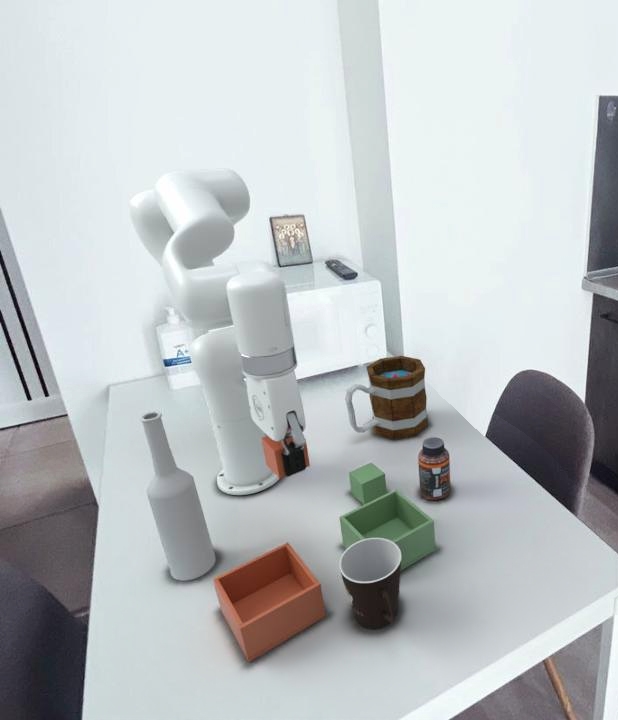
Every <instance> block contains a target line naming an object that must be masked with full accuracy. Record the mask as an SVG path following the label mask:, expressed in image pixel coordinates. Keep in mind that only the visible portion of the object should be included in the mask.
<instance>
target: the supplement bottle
mask: <svg viewBox="0 0 618 720" xmlns="http://www.w3.org/2000/svg"><path fill="white" fill-rule="evenodd" d="M417 459H418V460H417V463H418V478H419V479H418V481H419V482H418V483H419V491H420V495H421V496H422V497H423V498H424V499H427V500H430V501H439V500H442V499H445V498H446V497H448V495H449V494H450V492H451V463H450V462H451V460H450V459H451V457H450V452H449V450H448V449H447V448H446V447H445V441H444V440H443V439H442V438H440V437H438V436H431V437H428V438H425V439H424V440H423V441H422V448H421V450H419V452H418V454H417Z"/></svg>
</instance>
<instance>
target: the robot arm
mask: <svg viewBox="0 0 618 720" xmlns="http://www.w3.org/2000/svg"><path fill="white" fill-rule="evenodd" d="M250 208H251V196H250V191H249V190H248V186H247V184H246V182H245V181H244V179H243V178H242V177H241V176H240V175H239V174H238V173H237V172H236V171H234V170H232V169H231V168H225V167H224V168H223V167H219V168H202V169H201V168H200V169H199V168H198V169H183V170H175V171H169V172H167V173H165V174H163V175H162V176H161V177H159V178H158V180H157V181H156V183H155V185H154V188H153V189H152V188H151V189H148V190H144V191H141V192H139V193H137V194H135V195H134V196H133V197H132V198H131V199H130V201H129V205H128V209H129V216H130V220H131V223H132V225H133V228H134V230H135V232H136V234H137V236H138V238H139V240H140V242H141V243H142V245H143V246H144V247H145V249H146V250H147V251H148V253H149V254H150V255H151V256H152V257H153V259H154V260H155V261H156V262H157V263H158V265H159V266H160V267H161V269H162V272H163V277H164V280H165V282H166V285H167V287H168V290H169V292H170V293H171V295H172V298H173V299H174V301H175V303H176V305H177V307H178V309H179V310H180V313H181V316H182V317H183V319H184V321H185V322H186V324H187V326H189V328H191V329H193V330H194V331H199V332H204V331H209V332H207V333H204V334H202V335H200V336H198V337H197V338H195V339H194V340H193V342H192V343H191V344H190V346H189V357H190V361H191V364H192V367H193V370H194V372H195V374H196V376H197V379H198V381H199V383H200V386H201V388H202V391H203V394H204V397H205V401H206V405H207V409H208V413H209V417H210V421H211V425H212V429H213V434H214V438H215V441H216V446H217V451H218V454H219V459H220V464H221V467H222V469H221V470H220V471H219V473H218V474H217V477H216V483H217V487H218V489H219V490H220V491H221V492H222V493H225V494H228V495H231V496H247V495H252V494H256V493H259V492H261V491H264V490H266V489H268V488H270V487H272V486H274V485H275V484H276V483H278V481H279V480H280V479H279V478H278V477H277V476H276V474H275V473H274V472H273V471H272V470H271V469H270V468H269V467H268V466H267V465H266V460H265V455H264V450H263V445H262V440H261V438H263V437H266V436H269V437H270V438H271V439H272V440H274V441H280V442H281V445H282V449H283V452H284V453H282V454H281V455H282V460H283V466H284V471H285V475H286V476H285V477H291V476H293V475H296V474H298V473H301V472H303V471H305V470H306V469H307V467H306V463H305V457H304V451H303V449H304V446H303V445H304V444H305V443H306V444H307V439H306V438H305V435H304V431H306V416H305V411H304V410H305V409H304V404H303V400H302V395H301V391H300V387H299V383H298V379H297V375H296V372H295V370H296V369H297V367H298V365H299V363H298V358H297V353H296V345H295V339H294V332H293V326H292V319H291V314H290V306H289V300H288V295H287V288H286V283H285V281H284V279H283V277H282V276H281V275H280V274H279V273H278V271H277V270H276V269H275V268H273V266H272V265H271V264H270V263H268V262H267V261H265V260H262V259H252V260H245V261H244V260H243V261H237V262H231V263H229V262H228V263H222V264H217V265H215V263H214V259H216V258H217V257H219V256H221V255H222V254H224V253H225V252H226V251H227V250H228V249H229V248H230V247H231V245H232V244H233V242H234V238H235V233H236V232H235V231H236V230H235V225H237V224H238V223H239V222H241V221H242V220H243V219H244V218H245V217H246V216H247V215H248V213H249V211H250ZM287 429H289V430H290V431H289V432H287V433H286V431H287ZM289 437H293V441H292V442H290V443H289V444H287V441H286V439H287V438H289ZM305 439H306V440H305Z"/></svg>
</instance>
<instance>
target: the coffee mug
mask: <svg viewBox="0 0 618 720" xmlns="http://www.w3.org/2000/svg"><path fill="white" fill-rule="evenodd" d="M338 569H339V572H340V575H341V579H342V582H343V585H344V588H345V591H346V594H347V598H348V601H349V604H350V607H351V611H352V613H353V614H352V615H353V617H354V620H355V623H356V624H357V625H358V626H359V627H361V628H363V629H366V630H371V631H372V630H374V631H375V630H380V629H383V628H385V627H387V626H389V625H391V624H392V623H393V622H394V621H395V620H396V617H397V616H398V613H399V605H400V604H399V602H400V586H401V572H402V571H401V551H400V549H399V547H398V546H397V545H396V544H395V543H394V542H392V541H390V540H388V539H384V538H368V539H364V540H360V541H358V542H356V543H354V544H352V545H351V546H349V547H348V548H347V549H346V548H345V550H344V551H343V552H342V553H341V556H340V557H339V561H338Z"/></svg>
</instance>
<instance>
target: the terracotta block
mask: <svg viewBox="0 0 618 720" xmlns="http://www.w3.org/2000/svg"><path fill="white" fill-rule="evenodd" d="M289 431H290V430H289V429H287V431H286V433H287V432H289ZM261 440H262V445H263V450H264V455H265V460H266V465H267V466H268V467H269V468H270V469H271V470H272V471H273V472H274V473H275V474H276V476H277V477H278V478H279V480H280V479H283V478H285V477H287V476H286V475H285V471H284V466H283V460H282V455H281V454H282V453H284V452H283V449H282V445H281V442H280V441H274V440H272V439H271V438H270V437H269V436H266V437H263V438H261ZM305 440H306V441H307V439H306V438H305ZM286 441H287V444H289V443H290V442H292V441H293V437H289V438H287V439H286ZM303 446H304V449H303V451H304V457H305V463H306V468H309V467H310V466H311V463H310V458H309V452H308V445H307V442H306V443H305V444H304V445H303Z"/></svg>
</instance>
